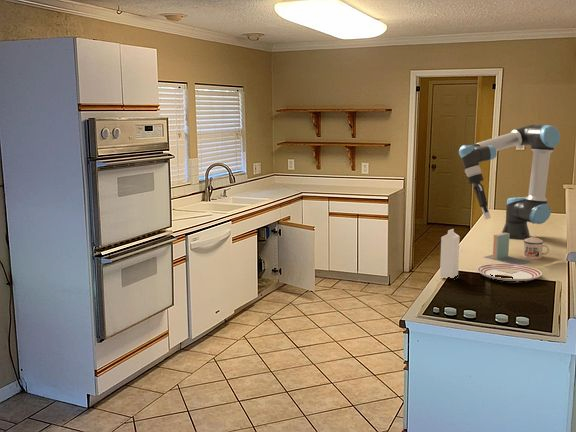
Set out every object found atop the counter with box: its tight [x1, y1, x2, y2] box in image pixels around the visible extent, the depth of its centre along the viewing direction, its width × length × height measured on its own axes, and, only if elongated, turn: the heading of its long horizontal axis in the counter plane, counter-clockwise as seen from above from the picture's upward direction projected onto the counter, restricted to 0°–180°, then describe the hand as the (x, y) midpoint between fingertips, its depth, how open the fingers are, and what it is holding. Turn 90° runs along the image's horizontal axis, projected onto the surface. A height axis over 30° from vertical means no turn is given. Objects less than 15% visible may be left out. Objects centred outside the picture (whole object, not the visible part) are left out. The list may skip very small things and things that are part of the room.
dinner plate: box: [476, 263, 543, 283], centre depth 263 cm, size 27×27×3 cm
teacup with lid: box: [522, 234, 550, 260], centre depth 292 cm, size 12×9×12 cm
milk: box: [439, 228, 461, 278], centre depth 261 cm, size 6×6×22 cm
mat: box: [483, 254, 534, 266], centre depth 290 cm, size 20×12×1 cm, turn 35°
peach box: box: [492, 232, 510, 260], centre depth 292 cm, size 2×9×12 cm, turn 125°
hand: (487, 218), depth 303 cm, fingers closed
